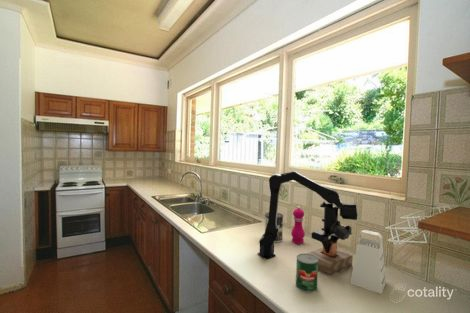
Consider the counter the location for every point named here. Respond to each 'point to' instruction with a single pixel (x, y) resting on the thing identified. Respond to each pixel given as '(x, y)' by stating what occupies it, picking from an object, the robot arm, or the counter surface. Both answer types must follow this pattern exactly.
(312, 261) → the canned tomato
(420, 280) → the counter surface
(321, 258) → the well block
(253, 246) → the counter surface
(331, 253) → the tall wooden block
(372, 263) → the grater
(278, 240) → the coffee can
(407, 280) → the counter surface
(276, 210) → the robot arm
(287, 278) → the counter surface
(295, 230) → the pepper mill
